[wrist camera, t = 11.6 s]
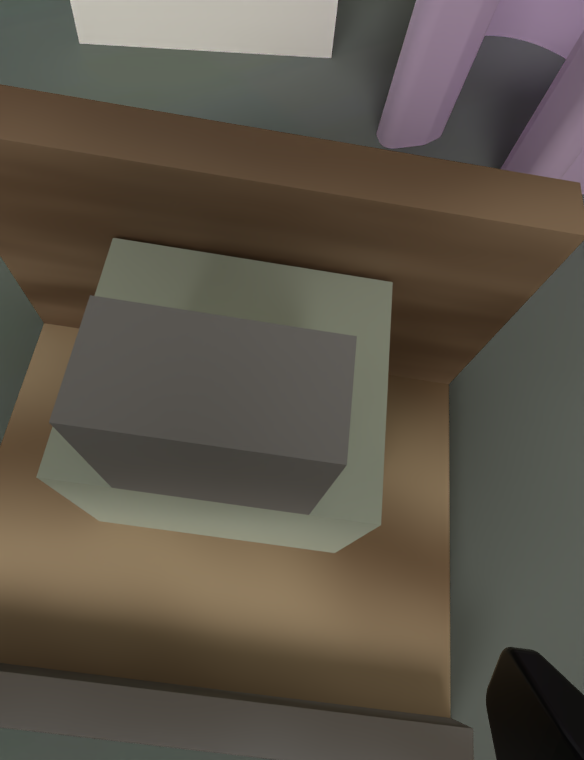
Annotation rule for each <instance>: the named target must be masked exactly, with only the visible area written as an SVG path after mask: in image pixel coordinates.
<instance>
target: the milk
mask: <svg viewBox="0 0 584 760" xmlns="http://www.w3.org/2000/svg"><path fill="white" fill-rule="evenodd" d="M70 2H71V7H72V11H73V16H74V20H75V25H76V29H77V34H78V39H79V43H81V44H98V45H115V46H132V47H149V48H166V49H183V50H200V51H217V52H234V53H251V54H268V55H285V56H302V57H319V58H331V55H332V47H333V39H334V31H335V22H336V14H337V6H338V0H70Z"/></svg>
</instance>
